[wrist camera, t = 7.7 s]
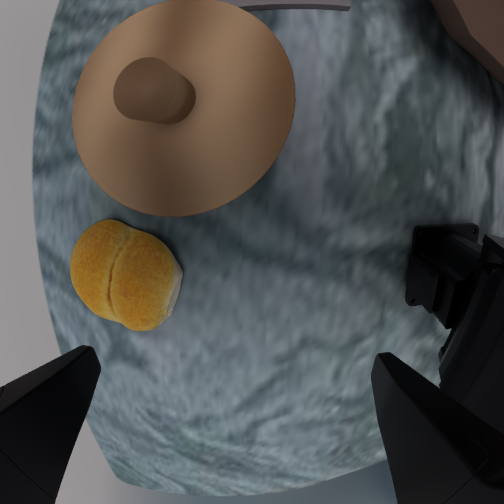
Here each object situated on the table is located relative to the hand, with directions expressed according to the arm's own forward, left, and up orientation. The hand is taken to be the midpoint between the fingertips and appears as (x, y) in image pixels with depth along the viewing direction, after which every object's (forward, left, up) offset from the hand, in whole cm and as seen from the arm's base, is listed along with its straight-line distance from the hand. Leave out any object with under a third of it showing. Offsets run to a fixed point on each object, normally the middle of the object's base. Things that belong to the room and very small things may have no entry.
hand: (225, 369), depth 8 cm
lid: (+3, -9, -9) cm, 13 cm away
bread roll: (+9, +2, -13) cm, 16 cm away
